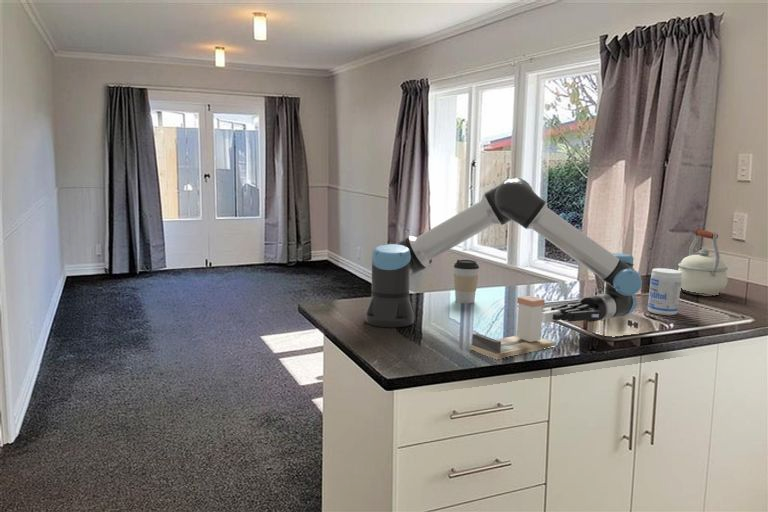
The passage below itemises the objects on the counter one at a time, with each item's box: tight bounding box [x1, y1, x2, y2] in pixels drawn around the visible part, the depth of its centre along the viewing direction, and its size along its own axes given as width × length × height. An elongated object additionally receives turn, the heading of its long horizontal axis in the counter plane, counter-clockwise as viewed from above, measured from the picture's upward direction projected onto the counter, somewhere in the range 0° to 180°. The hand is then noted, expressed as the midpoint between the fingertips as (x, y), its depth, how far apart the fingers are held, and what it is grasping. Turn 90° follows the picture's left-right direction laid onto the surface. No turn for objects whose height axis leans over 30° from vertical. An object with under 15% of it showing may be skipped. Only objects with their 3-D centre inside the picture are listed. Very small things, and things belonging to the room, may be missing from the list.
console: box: [469, 332, 556, 361], centre depth 172 cm, size 22×10×4 cm, turn 124°
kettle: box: [677, 228, 729, 294], centre depth 252 cm, size 25×18×25 cm
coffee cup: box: [453, 259, 480, 305], centre depth 227 cm, size 9×9×15 cm
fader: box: [516, 295, 546, 342], centre depth 174 cm, size 5×6×11 cm
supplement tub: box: [647, 267, 682, 316], centre depth 217 cm, size 10×10×15 cm
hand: (542, 317), depth 177 cm, fingers closed
